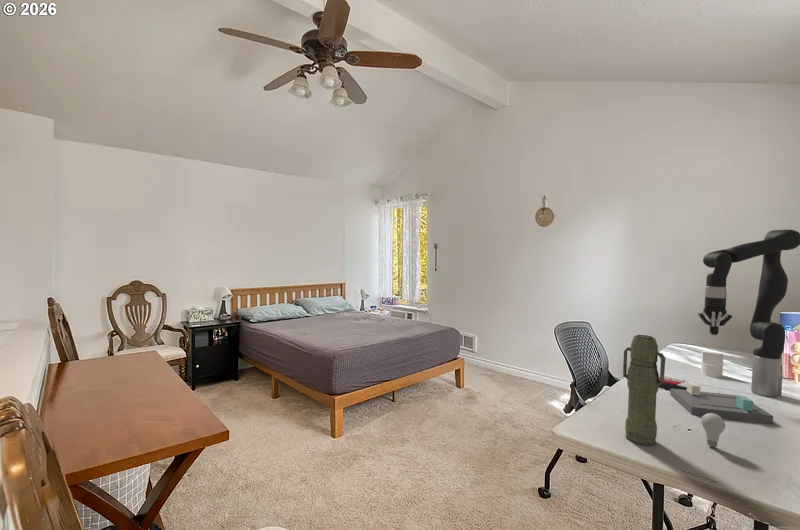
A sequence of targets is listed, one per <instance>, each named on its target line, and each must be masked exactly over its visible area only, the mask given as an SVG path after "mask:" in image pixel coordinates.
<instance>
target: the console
mask: <svg viewBox="0 0 800 530" xmlns="http://www.w3.org/2000/svg"><path fill="white" fill-rule="evenodd" d="M669 391H670V392H669V393H670V396H671V397H672V398H673V399H674V401H676V402H677V403H678V404H680V405H681V406H682V408H684V409H685V410H686V411H687V412H688V413H690V414H691V415H694V416H702V417H703V416H704V415H705V414H707V413H714V414H717V415H719V416H720V417H721V418H722V419H726V420H728V419H729V420H736V421H737V420H739V421H745V422H752V423H760V422H765V423H764V424H769V423H773V424H774V415H772V414H771V413H769V412H767V411H766V410H765V409H764V408H761V407H760V406H758V405H757V404H755V403H753V411H744V410H742V409H740V408H739V407H737V406H736V398H737V396H740V395H737V394H729V393H719V392H708V391H700V396H697V395H691V394H690V393H689V392H687V390H681V389H671V390H669ZM753 421H754V422H753Z"/></svg>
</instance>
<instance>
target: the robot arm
mask: <svg viewBox="0 0 800 530" xmlns="http://www.w3.org/2000/svg"><path fill="white" fill-rule="evenodd" d="M799 246H800V232H799V231H797V230H795V229H774V230H770V231H768V232H767V233H766V234H765V236H764V239H763V240H758V241H753V242H751V241H750V242H747V243H742V244H738V245H735V246H732V247H730V248H726V249H725V248H724V249H719V250H714V251H710V252H708V253H707V254H705V255H704V256H703V259H702V261H703V262H702V263H703V264H704V266H706V267H708V268H712V269H713V272H711V273H708V274H707V275H706V278H705V279H706V282H705V283H706V285H705V291H704V308H703V310H702V311H701V312H697V316H698V317H699V318H700V319H701V321H702V322H703V323H704V324H705V325H708V326H709V333H710V334H711V335H712V336H717V335H718V334H719V329H720V328H719V327H722V326H723V327H724V326H725V325H726V324H727V323H728V322H729V321H730V320H731V319H732V318H733V315H731V314H729V313H728V311H727V309H726V307H727V296H728V295H727V294H728V293H727V277H728V276H729V274H730V270H731V267H732V264H733V263H736V264H737V263H739V262H742V261H746V260H749V259H752V258H757V257H760V256H762V265H761V267H762V268H761V273H760V274H761V275H760V279H759V283H758V284H759V285H758V291H757V298H756V303H755V308H754V311H753V315H752V318H751V320H750V321H751V322H750V326H749V333H750V334H749V335H750V336H751V337H752V338H754V339H755V340H759V341H762V345H761V346H760V347H754V349H753V350H752V351H753V352H752V368H751V369H752V373H751V386H750V387H751V388H750V391H751V392H752V393H753V392H754V393H753V394H755V393H756V394H755V395H758V394H760V395H759V396H762V395H764V397H767V396H771V397H770V398H778V397H777V396H780V397H779V398H782V388H783V376H782V375H781V360H782V355H783V353H784V350H785V344H786V343H785V342H786V329H785V327H784V326H783V325H782V324H780V323H778V322H773V321H771V320H772V314H773V311H774V310H775V309H776V307H777V306H778V305H779V304H780V303H781V302H782V301H783V299H784V298H785V297H786V294H787V291H788V283H789V279H788V276H787V273H786V271H785V269H784V268H783V265H782V263H781V257H782V251H791V250H794V249H797V248H798V247H799ZM706 316H707V317H706Z"/></svg>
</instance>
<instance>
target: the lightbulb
mask: <svg viewBox="0 0 800 530" xmlns="http://www.w3.org/2000/svg"><path fill="white" fill-rule="evenodd" d="M700 421H701V423H700V424H701V426H702V427H703V429H704V431H705V436H706V444H707V446H709V447H711V448H712V449H713V448H716V447H718V442H719V440H720V436H721V434H722V433H723V432H724V430H725V429H726V423H725V420H724V418H721V417H720V416H719V415H717V414H714V413H707V414H705V415H704V416H702V417H701V419H700Z"/></svg>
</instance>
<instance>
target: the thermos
mask: <svg viewBox="0 0 800 530" xmlns="http://www.w3.org/2000/svg"><path fill="white" fill-rule="evenodd" d="M628 351H629V352H630V363H629V364H630V365H629V366H628V368H627V365H628V364H627V363H628ZM658 357H659V358H660V368H659V369H660V370H659V371H658V365H657V362H658ZM622 366H623V367H622V368H623V369H622V374H623V378H625V379H626V380H627V383H626V385H627V388H628V396H627V398H628V400H627V403H628V404H627V417H626V419H625V426H624V428H625V429H624V430H625V438H626V440H628V441H629V442H631V443H632V444H633V443H634V444H635V445H638V446H639V445H640V446H644V447H654V446H655V445H656V444H657V441H656V438H657V435H658V434H657V433H658V425H657V421H656V412H657V411H656V409H657V393H658V391H659V388H658V386H659V385H661V384H663V383H664V376H665V369H666V356H665V355H664V354H663V352H660V351H659V346H658V343H657V340H656V338H654V337H653V336H651V335H645V334H637V335H634V336H633V338H632V340H631V343H630V347H626V348H625V349H624V351H623V365H622ZM659 372H660V373H659ZM659 377H660V380H659Z"/></svg>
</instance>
